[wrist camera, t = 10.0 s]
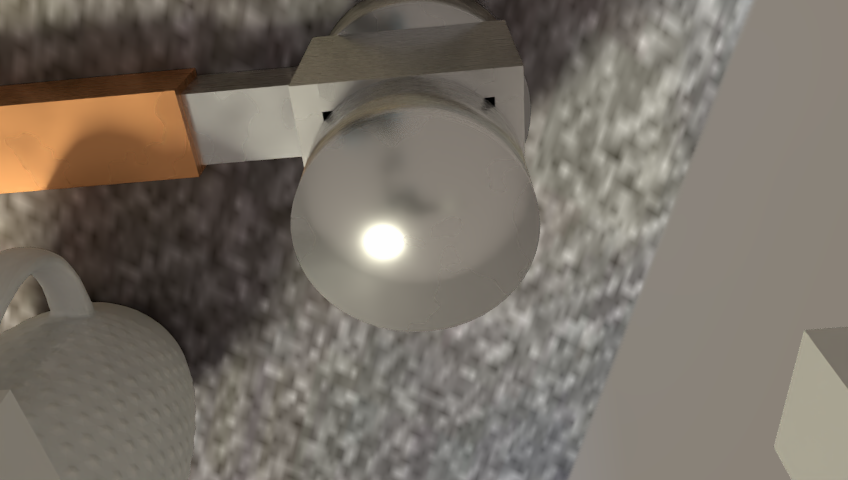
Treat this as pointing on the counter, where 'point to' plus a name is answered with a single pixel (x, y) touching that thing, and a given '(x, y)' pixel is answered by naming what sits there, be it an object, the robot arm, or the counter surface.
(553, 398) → the counter surface
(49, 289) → the mug
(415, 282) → the metal knob on block
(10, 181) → the ratchet
